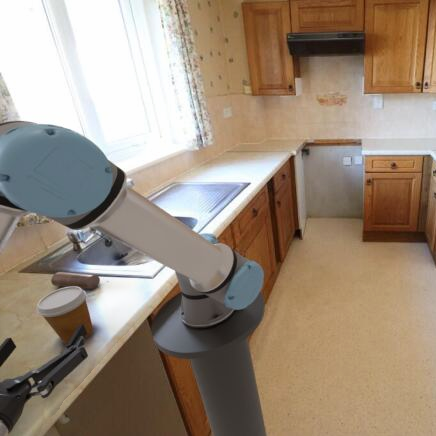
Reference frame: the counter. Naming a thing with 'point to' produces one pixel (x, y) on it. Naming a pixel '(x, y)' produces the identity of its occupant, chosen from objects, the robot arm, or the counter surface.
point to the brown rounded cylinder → (75, 280)
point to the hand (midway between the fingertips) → (48, 335)
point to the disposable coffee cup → (66, 311)
